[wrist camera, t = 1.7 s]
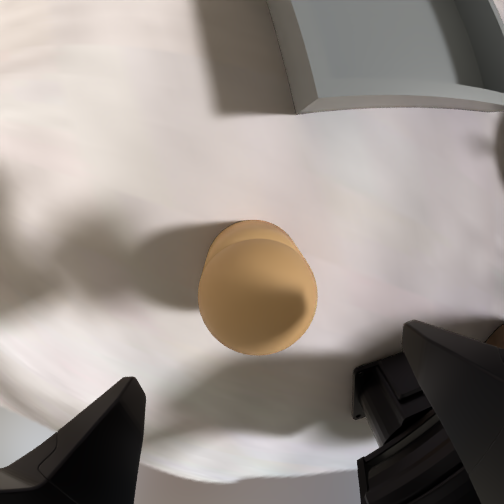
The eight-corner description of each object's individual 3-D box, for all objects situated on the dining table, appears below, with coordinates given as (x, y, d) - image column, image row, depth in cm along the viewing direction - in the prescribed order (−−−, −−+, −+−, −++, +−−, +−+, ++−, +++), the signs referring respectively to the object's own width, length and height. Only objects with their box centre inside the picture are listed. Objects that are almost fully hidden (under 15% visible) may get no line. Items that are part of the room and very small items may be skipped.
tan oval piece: (304, 296, 18) (335, 364, 11) (219, 313, 18) (212, 388, 11) (290, 211, 16) (325, 244, 10) (196, 230, 16) (171, 276, 10)
